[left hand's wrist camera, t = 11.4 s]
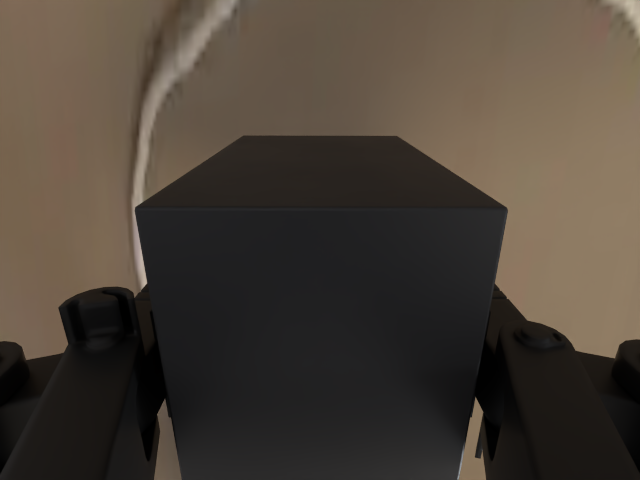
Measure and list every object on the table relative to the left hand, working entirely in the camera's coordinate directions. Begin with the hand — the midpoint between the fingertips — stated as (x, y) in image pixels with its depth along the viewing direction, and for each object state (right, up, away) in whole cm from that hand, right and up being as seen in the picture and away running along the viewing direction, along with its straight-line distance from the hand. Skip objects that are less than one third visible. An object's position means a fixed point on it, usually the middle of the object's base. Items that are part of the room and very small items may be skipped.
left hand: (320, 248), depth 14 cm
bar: (0, -9, +4) cm, 10 cm away
